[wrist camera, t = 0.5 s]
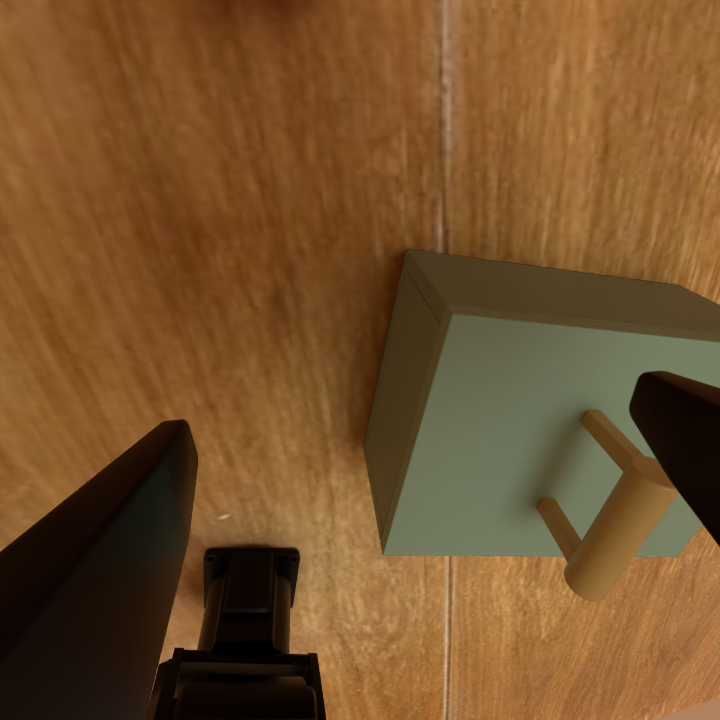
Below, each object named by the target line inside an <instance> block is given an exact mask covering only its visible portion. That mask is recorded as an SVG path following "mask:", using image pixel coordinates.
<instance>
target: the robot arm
mask: <svg viewBox="0 0 720 720" xmlns="http://www.w3.org/2000/svg"><path fill="white" fill-rule="evenodd" d="M629 413H630V416H631V418H632V420H633V422H634V423H635V425H636V426H637V428H638V430H639V431H640V433H641V435H642V436H643V438H644V440H645V441H646V443H647V444H648V446H649V448H650V449H651V451H652V453H653V454H654V456H655V458H656V459H657V461H658V462H659V464H660V466H661V467H662V469H663V471H664V472H665V474H666V475H667V477H668V478H669V480H670V481H671V483H672V484H673V485H674V487H675V488H676V490H677V491H678V492H679V494H680V495H681V496H682V498H683V499H684V500H685V502H686V503H687V504H688V506H689V507H690V508H691V509H692V511H693V512H694V513H695V515H696V516H697V517H698V519H699V520H700V521H701V523H702V524H703V525H704V527H705V528H706V529H707V531H708V532H709V533H710V535H711V536H712V537H713V539H714V540H715V541H716V543H717V544H718V545H719V547H720V388H718V387H715V386H712V385H709V384H705V383H702V382H699V381H696V380H693V379H690V378H686V377H683V376H680V375H677V374H674V373H670V372H667V371H661V370H660V371H651V372H644V373H642V374H641V375H640V376H639V377H638V379H637V382H636V385H635V388H634V391H633V394H632V397H631V400H630V404H629ZM197 469H198V454H197V450H196V447H195V443H194V440H193V436H192V433H191V430H190V426H189V424H188V422H187V421H186V420H184V419H180V420H170V421H164V422H162V423H160V424H159V425H158V426H156V427H155V428H154V429H153V430H151V431H150V432H149V433H148V434H146V435H145V436H144V437H143V438H141V439H140V440H139V441H138V442H137V443H135V444H134V445H133V446H132V447H130V448H129V449H128V450H127V451H125V452H124V453H123V454H122V455H120V456H119V457H118V458H117V459H115V460H114V461H113V462H112V463H110V464H109V465H108V466H107V467H105V468H104V469H103V470H102V471H100V472H99V473H98V474H97V475H95V476H94V477H93V478H92V479H90V480H89V481H88V482H87V483H85V484H84V485H83V486H82V487H80V488H79V489H78V490H77V491H75V492H74V493H73V494H72V495H70V496H69V497H68V498H67V499H65V500H64V501H63V502H62V503H61V504H59V505H58V506H57V507H56V508H54V509H53V510H52V511H51V512H49V513H48V514H47V515H46V516H44V517H43V518H42V519H41V520H39V521H38V522H37V523H36V524H34V525H33V526H32V527H31V528H29V529H28V530H27V531H26V532H24V533H23V534H22V535H21V536H19V537H18V538H17V539H16V540H14V541H13V542H12V543H11V544H9V545H8V546H7V547H6V548H4V549H3V550H2V551H1V552H0V720H326V714H325V706H324V699H323V692H322V685H321V678H320V671H319V664H318V657H317V653H308V654H289V642H290V608H292V606H293V602H294V595H295V588H296V581H297V575H298V568H299V561H300V553H299V551H297V550H249V549H210V550H207V551H206V552H205V555H204V608H205V612H204V617H203V622H202V628H201V633H200V638H199V643H198V649H197V650H184V648H175V649H174V653H173V657H172V659H169V660H168V661H166V662H163V663H161V664H159V667H158V663H159V659H160V655H161V651H162V647H163V643H164V639H165V635H166V631H167V627H168V623H169V619H170V615H171V610H172V606H173V602H174V598H175V594H176V590H177V586H178V582H179V578H180V574H181V570H182V566H183V562H184V558H185V554H186V549H187V545H188V540H189V534H190V527H191V519H192V511H193V502H194V494H195V486H196V478H197ZM157 667H158V671H157ZM156 671H157V675H156ZM155 676H156V679H155ZM154 680H155V683H154ZM153 684H154V686H153ZM152 688H153V690H152ZM151 692H152V694H151ZM150 696H151V698H150ZM149 700H150V701H149ZM148 704H149V705H148Z"/></svg>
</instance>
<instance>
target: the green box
mask: <svg viewBox="0 0 720 720" xmlns="http://www.w3.org/2000/svg"><path fill="white" fill-rule="evenodd" d="M446 305H451V306H460V307H469V308H478V309H487V310H496V311H505V312H514V313H523V314H532V315H541V316H549V317H558V318H567V319H576V320H585V321H594V322H603V323H612V324H621V325H630V326H639V327H648V328H657V329H665V330H674V331H683V332H692V333H701V334H710V335H719V336H720V305H719V304H717V303H715V302H713V301H710V300H708V299H706V298H704V297H702V296H700V295H698V294H696V293H694V292H692V291H690V290H688V289H686V288H684V287H682V286H680V285H672V284H665V283H658V282H650V281H643V280H635V279H628V278H620V277H613V276H605V275H598V274H590V273H583V272H575V271H568V270H560V269H553V268H545V267H538V266H531V265H523V264H516V263H508V262H501V261H493V260H486V259H478V258H471V257H463V256H456V255H448V254H441V253H433V252H426V251H418V250H411V249H407V250H406V253H405V257H404V262H403V267H402V271H401V276H400V280H399V285H398V290H397V294H396V299H395V304H394V308H393V313H392V317H391V322H390V327H389V331H388V336H387V341H386V345H385V350H384V354H383V359H382V364H381V368H380V373H379V378H378V382H377V387H376V391H375V396H374V401H373V405H372V410H371V415H370V419H369V424H368V428H367V433H366V438H365V442H364V447H363V448H364V454H365V459H366V465H367V470H368V476H369V481H370V487H371V493H372V498H373V504H374V509H375V515H376V520H377V526H378V531H379V537H380V540H381V538H382V535H383V531H384V527H385V524H386V520H387V517H388V513H389V509H390V506H391V502H392V499H393V495H394V491H395V488H396V484H397V481H398V477H399V473H400V470H401V466H402V463H403V459H404V455H405V452H406V448H407V445H408V441H409V437H410V434H411V430H412V426H413V423H414V419H415V416H416V412H417V408H418V405H419V401H420V398H421V394H422V390H423V387H424V383H425V380H426V376H427V372H428V369H429V365H430V362H431V358H432V354H433V351H434V347H435V344H436V340H437V336H438V333H439V329H440V326H441V322H442V318H443V315H444V311H445V308H446Z"/></svg>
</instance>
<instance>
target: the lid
mask: <svg viewBox="0 0 720 720" xmlns="http://www.w3.org/2000/svg"><path fill="white" fill-rule="evenodd" d="M660 370H661V371H667V372H670V373H674V374H677V375H680V376H683V377H686V378H690V379H693V380H696V381H699V382H702V383H705V384H709V385H712V386H715V387H718V388H720V336H719V335H710V334H701V333H692V332H683V331H674V330H665V329H657V328H648V327H639V326H630V325H621V324H612V323H603V322H594V321H585V320H576V319H567V318H558V317H549V316H541V315H532V314H523V313H514V312H505V311H496V310H487V309H478V308H469V307H460V306H451V305H446V308H445V311H444V315H443V318H442V322H441V326H440V329H439V333H438V336H437V340H436V344H435V347H434V351H433V354H432V358H431V362H430V365H429V369H428V372H427V376H426V380H425V383H424V387H423V390H422V394H421V398H420V401H419V405H418V408H417V412H416V416H415V419H414V423H413V426H412V430H411V434H410V437H409V441H408V445H407V448H406V452H405V455H404V459H403V463H402V466H401V470H400V473H399V477H398V481H397V484H396V488H395V491H394V495H393V499H392V502H391V506H390V509H389V513H388V517H387V520H386V524H385V527H384V531H383V535H382V538H381V542H380V543H381V548H382V554H383V555H384V556H564V557H565V559H566V560H567V562H568V564H567V566H566V568H565V570H564V576H565V580H566V582H567V584H568V585H569V587H570V588H571V589H572V590H573V591H574V592H575V593H576V594H577V595H579V596H580V597H582V598H584V599H586V600H589V601H594V602H596V601H601V600H603V599H604V598H605V597H606V595H607V594H608V592H609V591H610V590H611V588H612V587H613V585H614V584H615V583H616V581H617V580H618V578H619V577H620V576H621V574H622V573H623V571H624V570H625V569H626V567H627V566H628V564H629V563H630V561H631V560H632V559H633V557H677V556H678V555H679V554H680V553H681V551H682V550H683V549H684V547H685V546H686V545H687V544H688V542H689V541H690V540H691V539H692V537H693V536H694V535H695V533H696V532H697V531H698V530H699V528H700V527H701V526H702V523H701V521H700V520H699V519H698V517H697V516H696V515H695V513H694V512H693V511H692V509H691V508H690V507H689V506H688V504H687V503H686V502H685V500H684V499H683V498H682V496H681V495H680V494H679V492H678V491H677V490H676V488H675V487H674V485H673V484H672V483H671V481H670V480H669V478H668V477H667V475H666V474H665V472H664V471H663V469H662V467H661V466H660V464H659V462H658V461H657V459H656V458H655V456H654V454H653V453H652V451H651V449H650V448H649V446H648V444H647V443H646V441H645V440H644V438H643V436H642V435H641V433H640V431H639V430H638V428H637V426H636V425H635V423H634V422H633V420H632V418H631V416H630V413H629V404H630V400H631V397H632V394H633V391H634V388H635V385H636V382H637V379H638V377H639V376H640V375H641V374H642V373H644V372H651V371H660Z"/></svg>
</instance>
